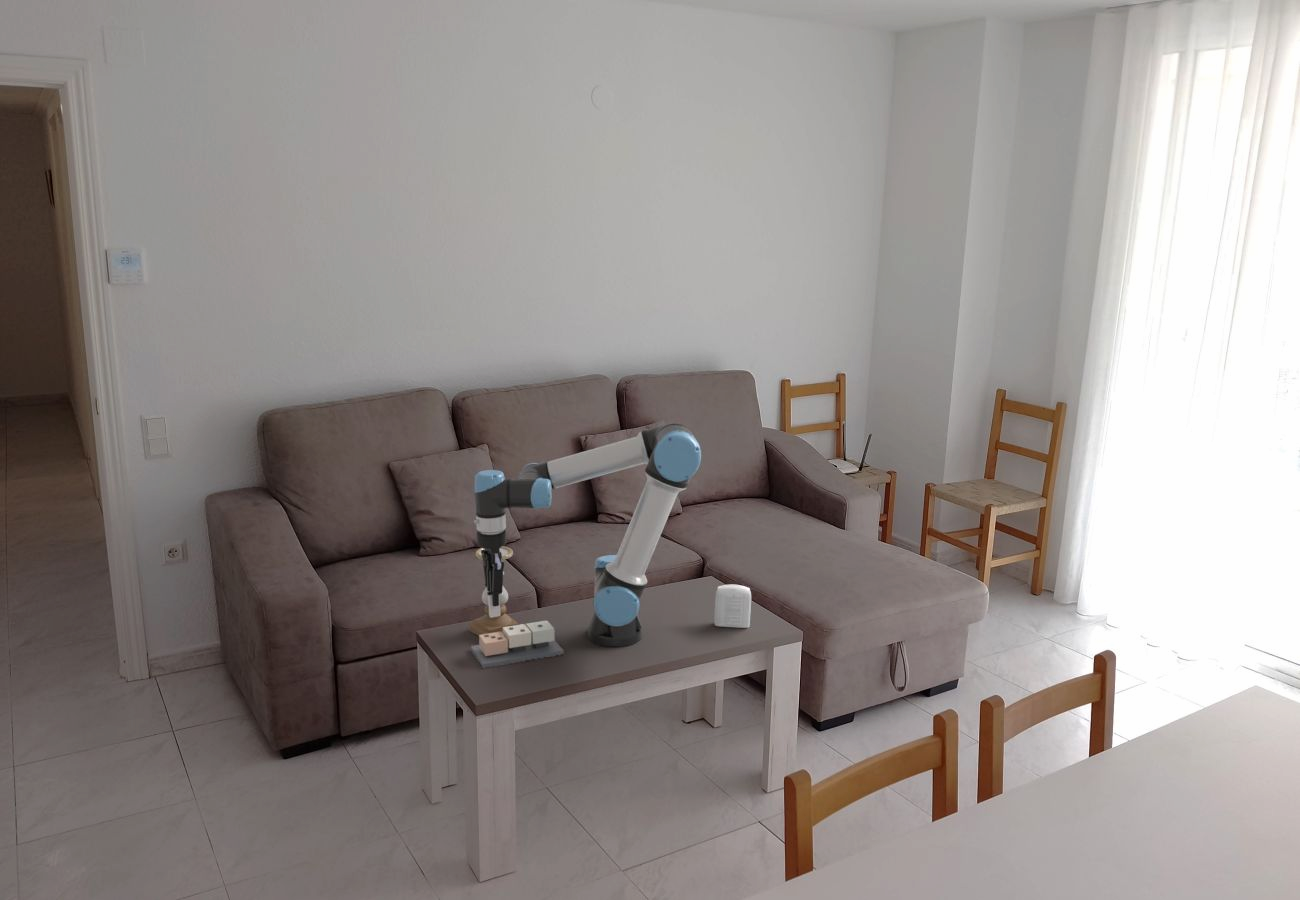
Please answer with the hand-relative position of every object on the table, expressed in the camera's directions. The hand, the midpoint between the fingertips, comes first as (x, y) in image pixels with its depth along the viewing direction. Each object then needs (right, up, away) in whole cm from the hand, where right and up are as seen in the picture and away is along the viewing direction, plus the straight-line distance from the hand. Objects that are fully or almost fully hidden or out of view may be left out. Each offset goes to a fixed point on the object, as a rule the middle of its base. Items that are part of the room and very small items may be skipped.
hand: (494, 615), depth 268 cm
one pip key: (+11, -7, +7) cm, 15 cm away
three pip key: (-1, -9, +2) cm, 10 cm away
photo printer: (+64, -7, +26) cm, 70 cm away
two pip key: (+5, -8, +5) cm, 10 cm away
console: (+5, -11, +5) cm, 13 cm away
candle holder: (-3, -8, +18) cm, 20 cm away
